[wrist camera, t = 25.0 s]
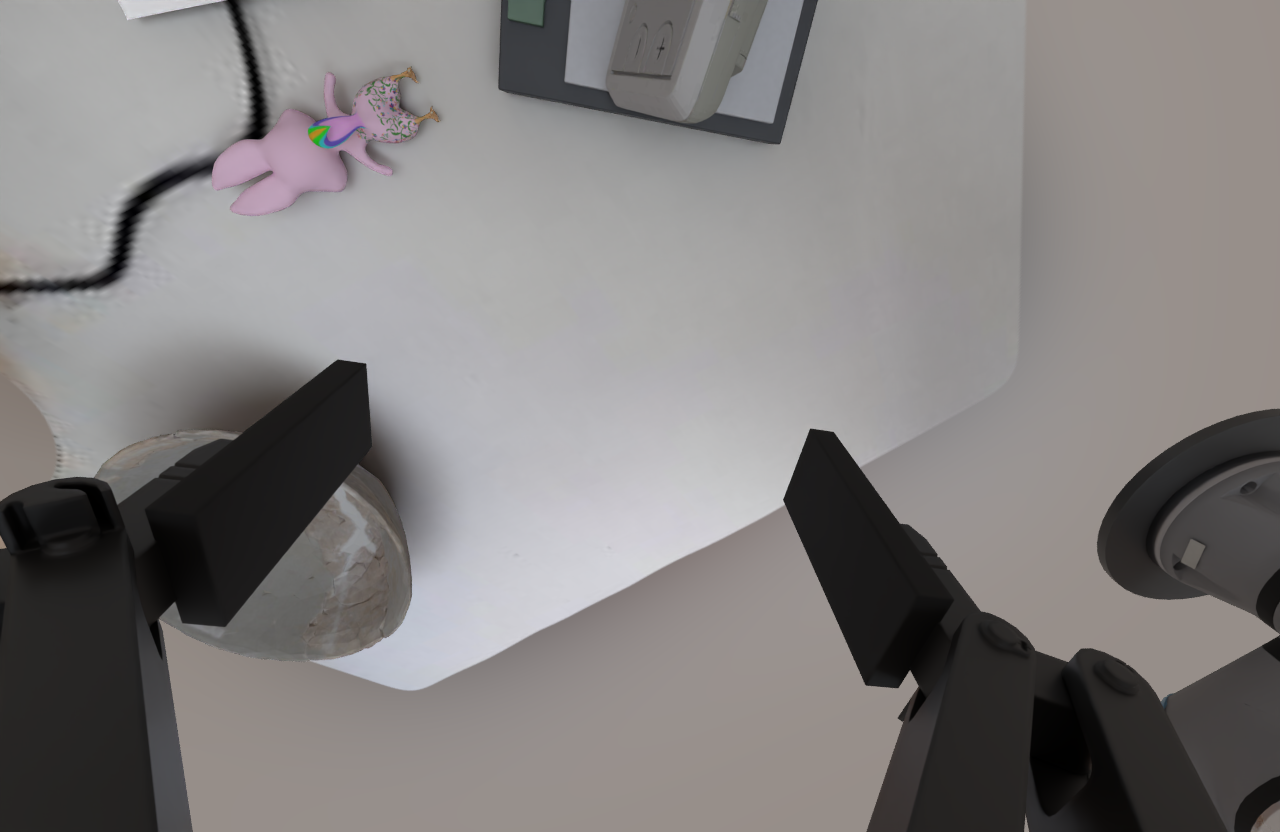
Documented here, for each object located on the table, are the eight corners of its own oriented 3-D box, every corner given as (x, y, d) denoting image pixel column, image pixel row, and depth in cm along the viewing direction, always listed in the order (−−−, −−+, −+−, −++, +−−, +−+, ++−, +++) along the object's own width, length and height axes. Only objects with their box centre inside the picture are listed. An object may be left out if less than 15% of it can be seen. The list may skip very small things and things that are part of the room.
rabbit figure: (403, 46, 34) (200, 151, 34) (378, 20, 28) (137, 145, 29) (457, 145, 36) (269, 242, 37) (444, 139, 31) (223, 252, 31)
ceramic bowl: (404, 605, 55) (362, 693, 47) (167, 520, 49) (67, 603, 40) (488, 452, 47) (457, 524, 38) (214, 325, 41) (101, 377, 32)
